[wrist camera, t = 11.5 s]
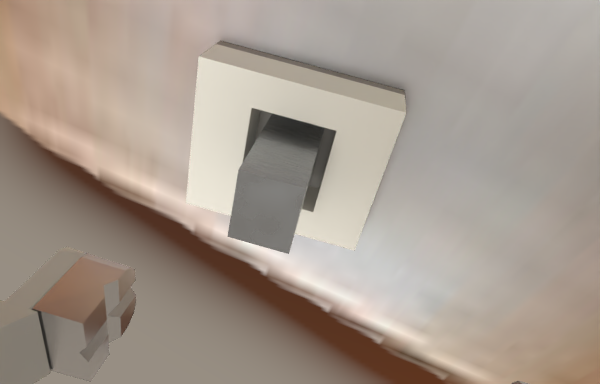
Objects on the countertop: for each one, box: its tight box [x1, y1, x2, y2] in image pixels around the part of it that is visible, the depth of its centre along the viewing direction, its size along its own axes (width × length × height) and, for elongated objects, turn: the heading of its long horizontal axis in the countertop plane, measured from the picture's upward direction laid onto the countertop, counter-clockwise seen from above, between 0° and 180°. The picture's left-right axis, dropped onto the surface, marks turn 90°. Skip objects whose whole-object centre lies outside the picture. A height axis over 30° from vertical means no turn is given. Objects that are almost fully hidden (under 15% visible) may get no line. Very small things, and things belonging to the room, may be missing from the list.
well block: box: [186, 41, 407, 251], centre depth 33 cm, size 14×12×4 cm
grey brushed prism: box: [228, 113, 325, 254], centre depth 30 cm, size 4×5×10 cm
